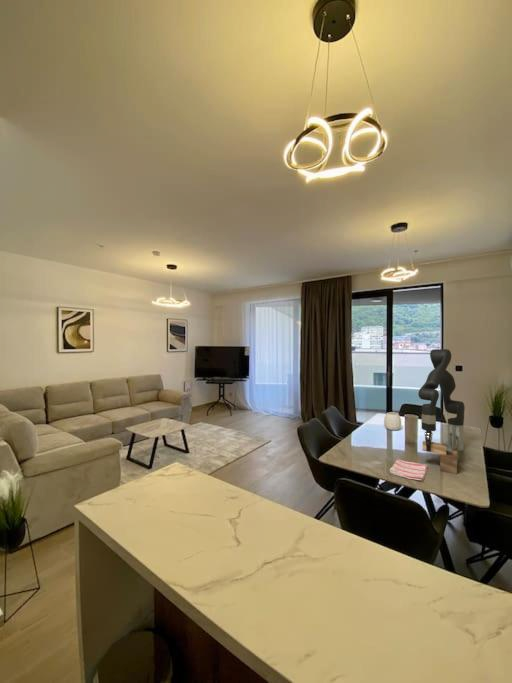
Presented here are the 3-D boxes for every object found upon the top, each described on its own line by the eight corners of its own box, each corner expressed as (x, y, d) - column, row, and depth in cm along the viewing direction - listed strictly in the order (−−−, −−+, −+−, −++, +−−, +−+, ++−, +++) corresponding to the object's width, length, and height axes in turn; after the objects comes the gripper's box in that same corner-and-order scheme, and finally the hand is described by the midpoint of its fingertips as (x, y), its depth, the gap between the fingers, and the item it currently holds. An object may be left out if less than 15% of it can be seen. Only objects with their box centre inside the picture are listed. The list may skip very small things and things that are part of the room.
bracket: (459, 468, 173) (459, 434, 173) (445, 465, 177) (445, 432, 177) (458, 453, 196) (458, 423, 196) (445, 451, 200) (445, 421, 200)
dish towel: (388, 475, 167) (388, 468, 167) (397, 461, 186) (397, 455, 186) (422, 483, 157) (422, 477, 157) (428, 468, 176) (428, 462, 176)
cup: (403, 429, 252) (403, 413, 252) (398, 432, 243) (398, 416, 243) (387, 426, 261) (387, 410, 261) (381, 429, 252) (381, 413, 252)
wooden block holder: (440, 464, 180) (440, 441, 180) (457, 467, 176) (457, 443, 176) (440, 470, 171) (440, 446, 171) (457, 474, 167) (457, 449, 167)
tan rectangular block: (423, 448, 182) (423, 439, 182) (446, 452, 176) (446, 443, 176) (422, 450, 179) (422, 441, 179) (446, 454, 173) (446, 445, 173)
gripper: (422, 418, 187) (422, 445, 187) (420, 423, 175) (420, 452, 175) (436, 420, 183) (436, 447, 183) (435, 425, 171) (435, 455, 171)
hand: (428, 450), depth 179 cm, fingers closed on tan rectangular block, 4 cm apart
